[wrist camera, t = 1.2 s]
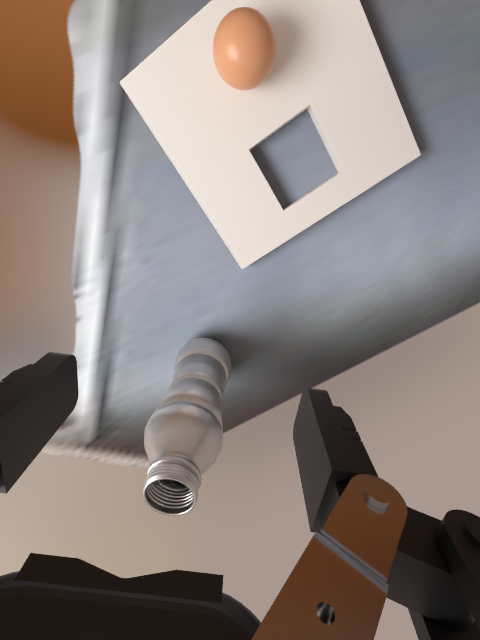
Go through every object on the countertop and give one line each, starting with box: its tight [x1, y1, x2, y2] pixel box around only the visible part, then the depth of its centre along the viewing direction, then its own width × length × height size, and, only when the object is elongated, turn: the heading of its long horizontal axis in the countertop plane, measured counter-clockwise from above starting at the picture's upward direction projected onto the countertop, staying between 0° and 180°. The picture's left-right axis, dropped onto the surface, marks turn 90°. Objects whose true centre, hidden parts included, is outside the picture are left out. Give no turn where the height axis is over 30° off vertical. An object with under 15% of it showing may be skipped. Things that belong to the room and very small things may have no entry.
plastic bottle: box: [143, 338, 231, 516], centre depth 30 cm, size 6×7×20 cm
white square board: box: [119, 0, 421, 269], centre depth 29 cm, size 20×20×2 cm
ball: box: [213, 7, 276, 90], centre depth 25 cm, size 5×5×5 cm
